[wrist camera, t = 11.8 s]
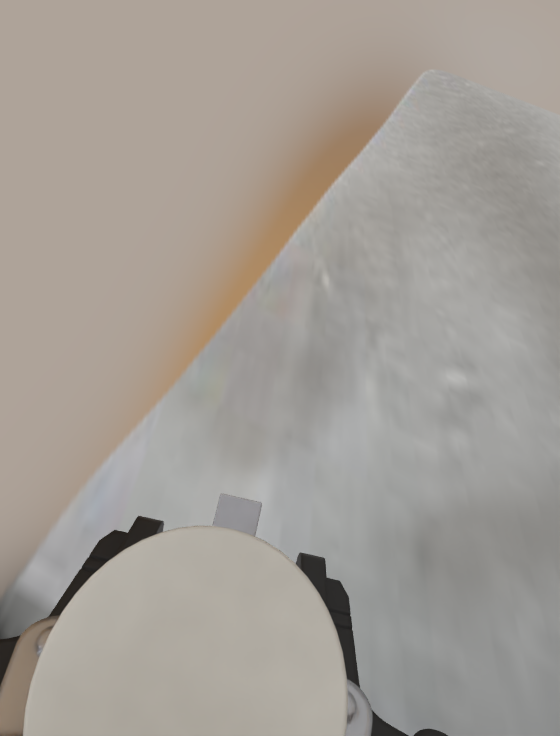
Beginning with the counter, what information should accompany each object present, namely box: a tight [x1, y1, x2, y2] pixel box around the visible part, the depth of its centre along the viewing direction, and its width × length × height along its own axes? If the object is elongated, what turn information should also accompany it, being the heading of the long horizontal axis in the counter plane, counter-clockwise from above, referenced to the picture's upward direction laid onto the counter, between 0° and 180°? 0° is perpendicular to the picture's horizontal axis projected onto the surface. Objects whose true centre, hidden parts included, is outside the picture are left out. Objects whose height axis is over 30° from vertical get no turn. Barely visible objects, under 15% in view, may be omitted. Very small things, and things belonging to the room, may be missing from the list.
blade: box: [23, 494, 348, 736], centre depth 11 cm, size 10×9×13 cm
